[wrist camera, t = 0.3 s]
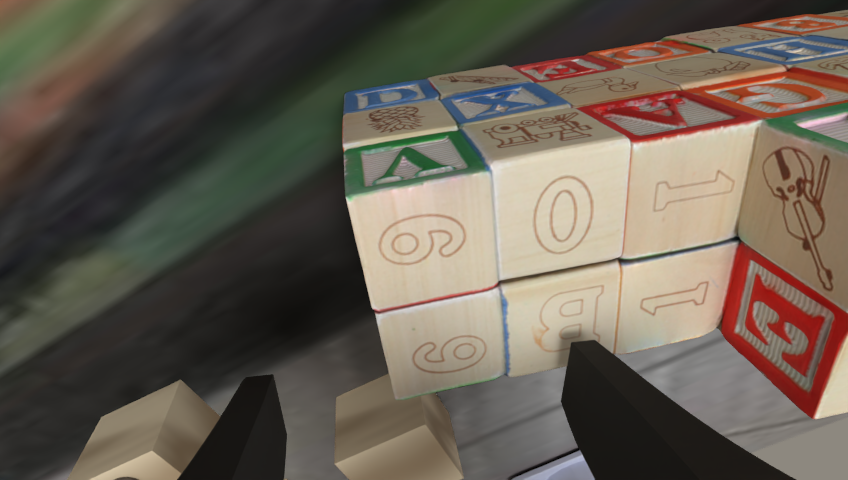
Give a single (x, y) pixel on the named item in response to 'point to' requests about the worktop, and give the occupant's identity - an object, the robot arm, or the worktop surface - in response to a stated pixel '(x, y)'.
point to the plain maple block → (394, 436)
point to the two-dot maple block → (148, 437)
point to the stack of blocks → (613, 208)
